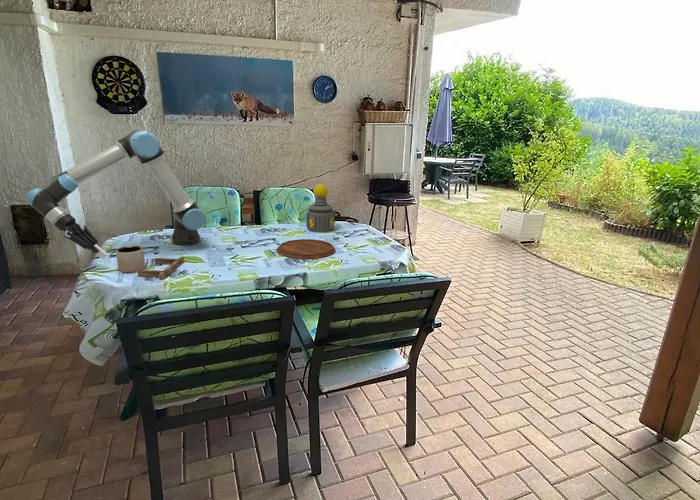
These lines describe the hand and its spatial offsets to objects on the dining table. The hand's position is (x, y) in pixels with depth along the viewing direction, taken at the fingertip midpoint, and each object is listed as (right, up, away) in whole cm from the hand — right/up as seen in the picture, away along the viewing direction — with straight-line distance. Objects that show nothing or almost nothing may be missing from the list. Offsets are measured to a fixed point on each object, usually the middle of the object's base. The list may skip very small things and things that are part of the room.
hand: (105, 256), depth 179 cm
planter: (+11, -6, +2) cm, 13 cm away
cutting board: (+86, +2, +40) cm, 95 cm away
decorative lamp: (+90, +17, +86) cm, 126 cm away
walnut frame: (+24, -6, +3) cm, 25 cm away
